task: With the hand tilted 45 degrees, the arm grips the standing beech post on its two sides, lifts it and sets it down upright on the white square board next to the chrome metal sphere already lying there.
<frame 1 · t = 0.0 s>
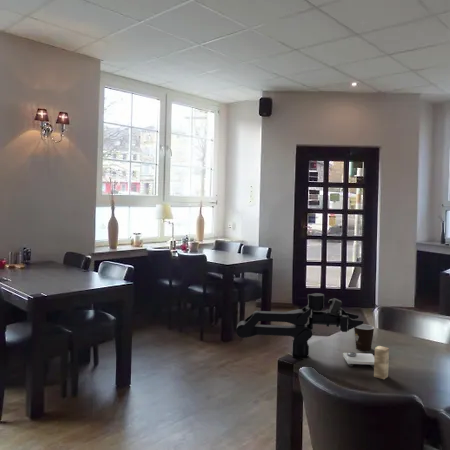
hand: (360, 319, 192), 17 cm above the table, tool horizontal, fingers open, 9 cm apart
white square board: (359, 363, 186), on the table
coffee mug: (363, 347, 207), on the table
chrome metal sphere: (351, 355, 188), point 3 cm above the table, touching white square board
beech post: (380, 376, 173), on the table
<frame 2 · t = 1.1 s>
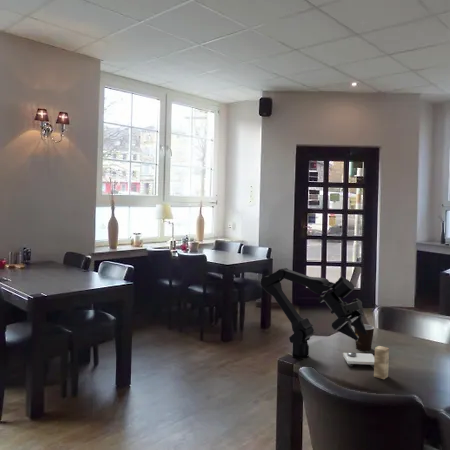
hand: (361, 336, 177), 14 cm above the table, tool tilted 45°, fingers open, 9 cm apart
nothing on the table moved.
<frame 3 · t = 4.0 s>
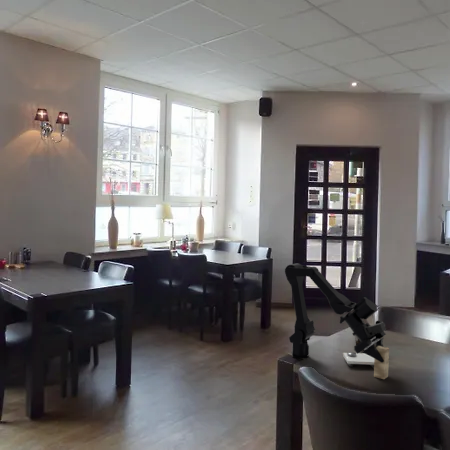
hand: (385, 360, 172), 7 cm above the table, tool tilted 45°, fingers closed on beech post, 4 cm apart
beech post: (380, 376, 173), on the table, touching gripper
everything else where it was.
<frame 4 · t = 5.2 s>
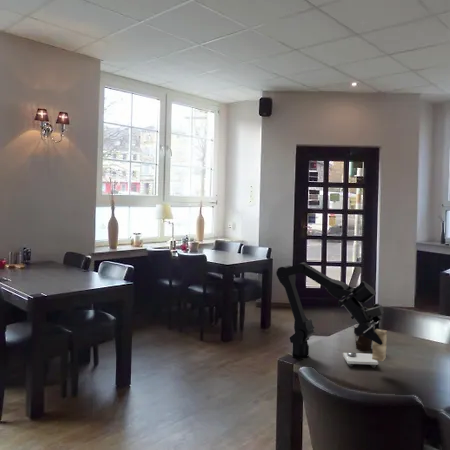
hand: (383, 342, 174), 12 cm above the table, tool tilted 45°, fingers closed on beech post, 4 cm apart
beech post: (378, 358, 176), point 6 cm above the table, touching gripper
everything else where it was.
when the fingers open (10 cm above the table, at t = 6.5 s): beech post stays where it is, resting on white square board.
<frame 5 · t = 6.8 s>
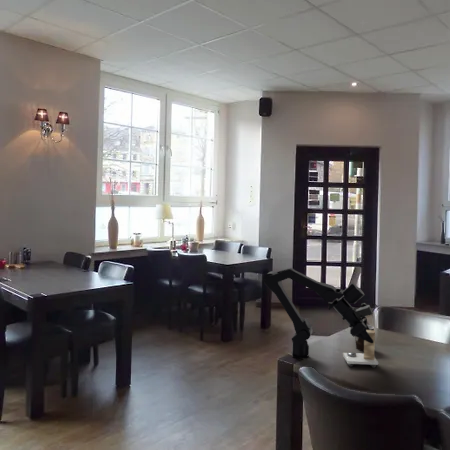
hand: (373, 339, 185), 10 cm above the table, tool tilted 45°, fingers open, 7 cm apart
beech post: (368, 357, 186), point 3 cm above the table, touching white square board
everything else where it was.
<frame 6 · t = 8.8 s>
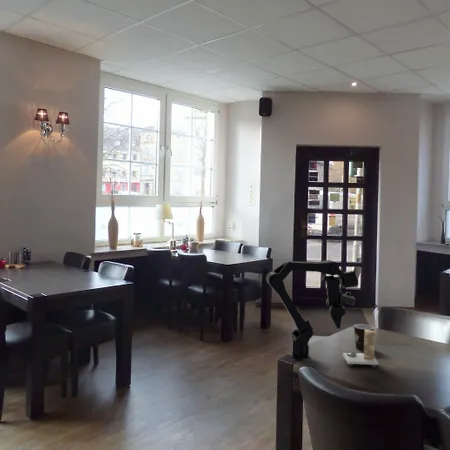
hand: (337, 325, 196), 13 cm above the table, tool pointing down, fingers open, 9 cm apart
nothing on the table moved.
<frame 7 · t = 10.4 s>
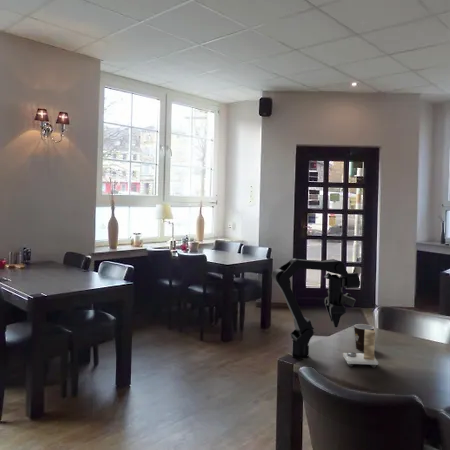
hand: (334, 324, 197), 13 cm above the table, tool pointing down, fingers open, 9 cm apart
nothing on the table moved.
at the end: beech post inside the target area on the white square board (3.5 cm from its centre), point 2.6 cm above the white square board's base; beech post tilted 0°; the gripper is holding nothing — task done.
